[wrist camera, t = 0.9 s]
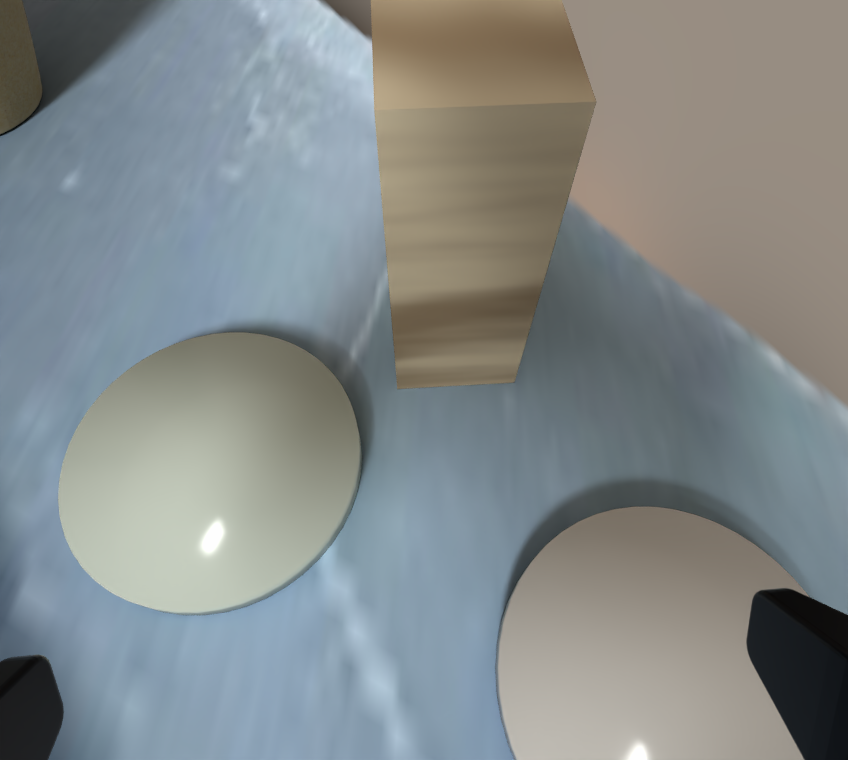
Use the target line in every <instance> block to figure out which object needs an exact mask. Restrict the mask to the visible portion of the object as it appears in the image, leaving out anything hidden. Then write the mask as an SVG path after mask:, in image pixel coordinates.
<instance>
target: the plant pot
mask: <svg viewBox="0 0 848 760" xmlns="http://www.w3.org/2000/svg"><path fill="white" fill-rule="evenodd" d="M41 97H42V84H41V78H40V73H39V68H38V64H37V59H36V54H35V50H34V46H33V42H32V37H31V33H30V29H29V25H28V21H27V17H26V13H25V9H24V6H23V2H22V0H0V134H2V133H4V132H6V131H8V130H10V129H12V128H14V127H16V126H17V125H18V124H20V123H21V122H23V121H24V120H25V119H26V118H28V117H29V116H30V115H31V114H32V113H33V112H34V110H35V109H36V108H37V106H38V104H39V102H40V100H41Z"/></svg>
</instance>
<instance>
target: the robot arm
mask: <svg viewBox="0 0 848 760" xmlns="http://www.w3.org/2000/svg"><path fill="white" fill-rule="evenodd" d="M746 645H747V651H748V655H749V658H750V660H751V662H752V664H753V666H754V668H755V670H756V672H757V674H758V675H759V677H760V679H761V681H762V683H763V685H764V687H765V688H766V690H767V692H768V694H769V696H770V698H771V700H772V701H773V703H774V705H775V707H776V709H777V711H778V712H779V714H780V716H781V718H782V720H783V722H784V724H785V725H786V727H787V729H788V731H789V733H790V735H791V737H792V738H793V740H794V742H795V744H796V746H797V748H798V749H799V751H800V753H801V755H802V757H803V759H804V760H848V615H846V614H844V613H842V612H840V611H838V610H836V609H833V608H831V607H829V606H827V605H825V604H823V603H821V602H818V601H816V600H814V599H812V598H810V597H808V596H806V595H804V594H801V593H799V592H797V591H795V590H793V589H789V588H777V589H766V590H760V591H758V592H756V593H755V595H754V596H753V599H752V604H751V611H750V618H749V625H748V631H747V638H746ZM63 714H64V710H63V702H62V699H61V696H60V693H59V690H58V686H57V683H56V680H55V677H54V674H53V670H52V667H51V664H50V662H49V660H48V659H47V658H46V657H45V656H42V655H28V656H17V657H11V658H7V659H5V660H3V661H1V662H0V760H48V759H49V756H50V754H51V751H52V749H53V746H54V744H55V741H56V739H57V736H58V734H59V731H60V728H61V725H62V721H63Z"/></svg>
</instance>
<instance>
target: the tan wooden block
mask: <svg viewBox="0 0 848 760" xmlns="http://www.w3.org/2000/svg"><path fill="white" fill-rule="evenodd" d="M371 17H372V50H373V81H374V111H375V123H376V136H377V148H378V160H379V172H380V184H381V196H382V208H383V220H384V232H385V244H386V257H387V269H388V281H389V293H390V305H391V317H392V329H393V341H394V353H395V366H396V378H397V389H406V388H424V387H442V386H460V385H479V384H497V383H514V382H515V378H516V375H517V372H518V368H519V365H520V361H521V358H522V354H523V351H524V348H525V344H526V341H527V337H528V334H529V331H530V327H531V324H532V320H533V317H534V313H535V310H536V307H537V303H538V300H539V296H540V293H541V289H542V286H543V283H544V279H545V276H546V272H547V269H548V266H549V262H550V259H551V255H552V252H553V248H554V245H555V242H556V238H557V235H558V231H559V228H560V224H561V221H562V218H563V214H564V211H565V207H566V204H567V201H568V197H569V194H570V190H571V187H572V183H573V180H574V176H575V173H576V169H577V166H578V163H579V159H580V156H581V153H582V149H583V145H584V142H585V139H586V135H587V132H588V129H589V125H590V122H591V118H592V115H593V112H594V108H595V105H596V99H595V96H594V93H593V90H592V88H591V85H590V82H589V79H588V76H587V73H586V70H585V67H584V64H583V61H582V58H581V56H580V52H579V50H578V46H577V44H576V41H575V38H574V35H573V32H572V29H571V26H570V23H569V20H568V17H567V14H566V12H565V8H564V6H563V3H562V0H371Z"/></svg>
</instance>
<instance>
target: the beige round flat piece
mask: <svg viewBox="0 0 848 760" xmlns="http://www.w3.org/2000/svg"><path fill="white" fill-rule="evenodd" d="M361 466H362V450H361V440H360V435H359V431H358V426H357V422H356V418H355V414H354V411H353V408H352V405H351V403H350V400H349V398H348V396H347V394H346V392H345V390H344V389H343V387H342V385H341V383H340V382H339V381H338V379H337V378H336V377H335V376H334V374H333V373H332V372H331V371H330V370H329V369H328V368H327V367H326V366H325V365H324V364H323V363H322V362H321V361H320V360H319V359H317V358H316V357H314V356H313V355H311V354H310V353H309V352H307V351H306V350H304V349H302V348H300V347H298V346H296V345H294V344H292V343H289V342H287V341H284V340H281V339H279V338H275V337H271V336H266V335H262V334H254V333H245V332H228V333H218V334H210V335H205V336H200V337H195V338H192V339H188V340H185V341H182V342H179V343H176V344H174V345H171V346H169V347H167V348H164V349H162V350H159V351H158V352H156V353H154V354H152V355H150V356H149V357H147V358H145V359H143V360H142V361H140V362H139V363H137V364H136V365H134V366H133V367H131V368H130V369H128V370H127V371H126V372H125V373H123V374H122V375H121V376H120V377H119V378H117V379H116V380H115V381H114V382H113V383H112V384H111V385H110V386H109V387H108V388H107V389H106V390H105V391H104V392H103V393H102V394H101V395H100V396H99V397H98V398H97V400H96V401H95V402H94V403H93V405H92V406H91V407H90V409H89V410H88V411H87V413H86V414H85V416H84V417H83V419H82V421H81V422H80V424H79V425H78V427H77V429H76V431H75V433H74V435H73V437H72V439H71V441H70V443H69V446H68V449H67V452H66V455H65V458H64V461H63V465H62V470H61V475H60V480H59V495H58V502H59V513H60V520H61V524H62V528H63V531H64V535H65V538H66V540H67V542H68V544H69V547H70V549H71V551H72V553H73V554H74V556H75V557H76V559H77V560H78V562H79V563H80V565H81V566H82V568H83V569H84V570H85V571H86V572H87V573H88V574H89V575H90V576H91V577H92V578H93V579H94V580H95V581H96V582H97V583H99V584H100V585H101V586H103V587H104V588H105V589H107V590H108V591H110V592H111V593H113V594H115V595H117V596H119V597H121V598H123V599H125V600H127V601H129V602H132V603H135V604H138V605H142V606H145V607H148V608H151V609H154V610H158V611H161V612H165V613H171V614H178V615H210V614H218V613H225V612H229V611H232V610H236V609H240V608H243V607H247V606H249V605H252V604H254V603H256V602H259V601H261V600H264V599H266V598H268V597H270V596H272V595H273V594H275V593H277V592H279V591H280V590H282V589H284V588H286V587H287V586H288V585H290V584H291V583H292V582H294V581H295V580H296V579H298V578H299V577H301V576H302V575H303V574H304V573H305V572H306V571H307V570H309V569H310V568H311V567H312V566H313V565H314V564H315V563H316V562H317V561H318V560H319V559H320V558H321V557H322V555H323V554H324V553H325V552H326V551H327V549H328V548H329V547H330V546H331V545H332V543H333V542H334V540H335V539H336V537H337V536H338V534H339V532H340V531H341V529H342V528H343V526H344V524H345V522H346V520H347V518H348V516H349V514H350V512H351V510H352V507H353V504H354V501H355V498H356V495H357V492H358V487H359V482H360V477H361Z"/></svg>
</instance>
